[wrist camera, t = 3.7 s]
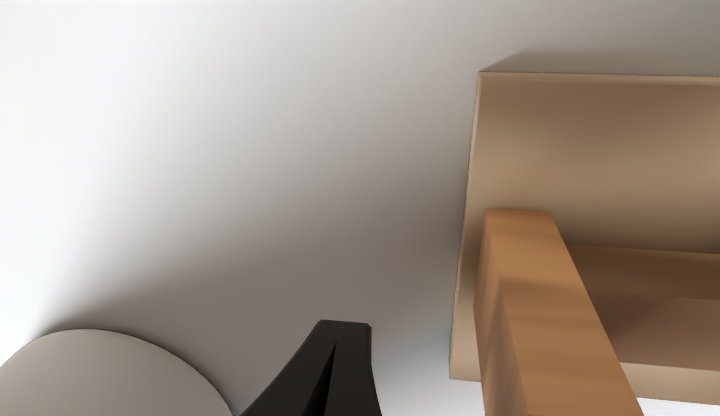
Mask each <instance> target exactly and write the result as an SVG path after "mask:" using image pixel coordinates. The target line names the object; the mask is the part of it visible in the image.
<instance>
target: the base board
mask: <svg viewBox="0 0 720 416" xmlns="http://www.w3.org/2000/svg"><path fill="white" fill-rule="evenodd" d="M485 209H502V210H520V211H538V212H550V213H551V215H552V218H553V220H554V222H555V224H556V226H557V228H558V231H559V233H560V235H561V237H562V239H563V241H564V244H565V245H580V246H596V247H612V248H627V249H643V250H659V251H675V252H691V253H706V254H720V77H701V76H656V75H611V74H566V73H521V72H479V75H478V84H477V94H476V103H475V113H474V122H473V132H472V141H471V151H470V160H469V170H468V179H467V189H466V198H465V208H464V217H463V227H462V236H461V246H460V255H459V265H458V274H457V284H456V293H455V303H454V312H453V322H452V331H451V341H450V350H449V377H450V379H456V380H466V381H476V382H481V375H480V366H479V357H478V348H477V340H476V331H475V322H474V313H473V302H474V295H475V287H476V279H477V271H478V263H479V255H480V248H481V240H482V232H483V224H484V216H485ZM620 365H621V367H622V369H623V371H624V373H625V375H626V378H627V380H628V382H629V384H630V386H631V388H632V391H633V393H634V395H635V397H639V398H649V399H659V400H670V401H680V402H690V403H700V404H710V405H720V371H710V370H699V369H688V368H677V367H666V366H654V365H643V364H632V363H621V362H620Z"/></svg>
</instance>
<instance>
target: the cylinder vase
mask: <svg viewBox="0 0 720 416" xmlns="http://www.w3.org/2000/svg"><path fill="white" fill-rule="evenodd" d="M0 416H233V415H232V413H231V411H230V409H229V407H228V406H227V404H226V402H225V401H224V399H223V398H222V397H221V395H220V394H219V393H218V391H217V390H216V389H215V388H214V387H213V386H212V385H211V384H210V383H209V382H208V380H206V379H205V378H204V377H203V376H202V375H201V374H200V373H199V372H198V371H196V370H195V369H194V368H193V367H191V366H190V365H189V364H187V363H186V362H184V361H183V360H181V359H180V358H178V357H177V356H175V355H173V354H172V353H170V352H168V351H166V350H164V349H162V348H160V347H158V346H156V345H154V344H151V343H149V342H147V341H144V340H141V339H138V338H135V337H132V336H129V335H125V334H121V333H116V332H111V331H105V330H95V329H74V330H65V331H59V332H55V333H51V334H48V335H45V336H42V337H40V338H37V339H35V340H33V341H31V342H30V343H28V344H26V345H25V346H23V347H22V348H21V349H19V350H18V351H17V352H16V353H15V354H14V355H13V356H12V357H11V358H10V359H8V360H7V361H6V362H5V363H4V364H3V365H2V366H1V367H0Z"/></svg>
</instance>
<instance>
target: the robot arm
mask: <svg viewBox="0 0 720 416" xmlns="http://www.w3.org/2000/svg"><path fill="white" fill-rule="evenodd" d="M240 416H382V414H381V410H380V406H379V402H378V398H377V394H376V389H375V383H374V378H373V373H372V366H371V327H370V326H369V325H368V324H367V323H356V322H344V321H332V320H320V321H319V322H318V323H317V324H316V325H315V327H314V328H313V330H312V331H311V333H310V334H309V336H308V337H307V339H306V340H305V341H304V343H303V344H302V345H301V347H300V348H299V349H298V351H297V352H296V353H295V355H294V356H293V357H292V359H291V360H290V361H289V362H288V363H287V365H286V366H285V367H284V368H283V370H282V371H281V372H280V373H279V374H278V376H277V377H276V378H275V379H274V380H273V381H272V383H271V384H270V385H269V386H268V387H267V388H266V389H265V390H264V391H263V392H262V393H261V395H260V396H259V397H258V398H257V399H256V400H255V401H254V402H253V403H252V404H251V405H250V406H249V407H248V408H247V409H246V410H245V411H244V412H243V413H242V414H241V415H240Z"/></svg>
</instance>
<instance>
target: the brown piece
mask: <svg viewBox="0 0 720 416" xmlns="http://www.w3.org/2000/svg"><path fill="white" fill-rule="evenodd" d="M473 313H474V322H475V331H476V340H477V348H478V357H479V366H480V375H481V384H482V392H483V401H484V410H485V416H644V414H643V412H642V410H641V408H640V406H639V403H638V401H637V399H636V397H635V395H634V393H633V391H632V388H631V386H630V384H629V382H628V380H627V378H626V375H625V373H624V371H623V369H622V367H621V365H620V362H621V363H632V364H643V365H654V366H666V367H677V368H688V369H699V370H710V371H720V254H706V253H691V252H675V251H659V250H643V249H627V248H612V247H596V246H580V245H565V244H564V241H563V239H562V237H561V235H560V233H559V231H558V228H557V226H556V224H555V222H554V220H553V218H552V215H551V213H550V212H538V211H520V210H502V209H485V216H484V224H483V232H482V240H481V248H480V255H479V263H478V271H477V279H476V287H475V295H474V302H473Z"/></svg>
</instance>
